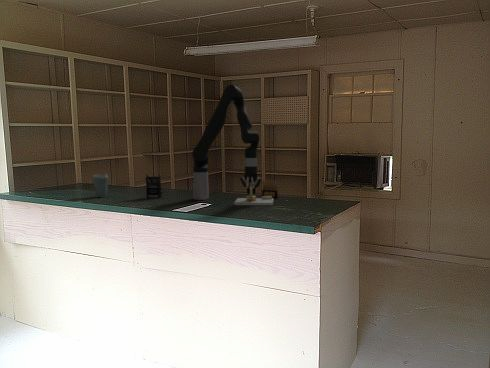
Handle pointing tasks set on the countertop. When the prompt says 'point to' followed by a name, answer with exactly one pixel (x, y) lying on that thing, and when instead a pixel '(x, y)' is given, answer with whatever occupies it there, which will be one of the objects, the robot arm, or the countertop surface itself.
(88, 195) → the countertop surface
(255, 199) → the levelling knob
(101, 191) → the disposable coffee cup
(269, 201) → the base plate
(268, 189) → the ammunition clip
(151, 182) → the geiger counter
